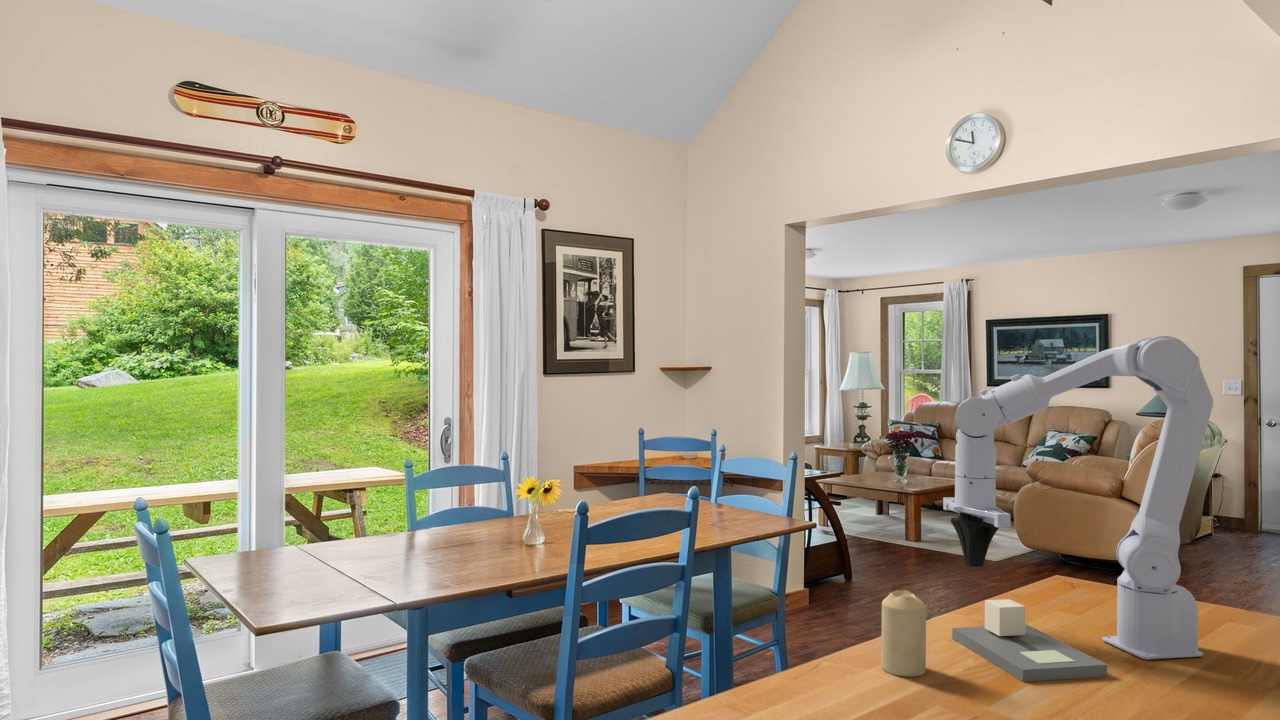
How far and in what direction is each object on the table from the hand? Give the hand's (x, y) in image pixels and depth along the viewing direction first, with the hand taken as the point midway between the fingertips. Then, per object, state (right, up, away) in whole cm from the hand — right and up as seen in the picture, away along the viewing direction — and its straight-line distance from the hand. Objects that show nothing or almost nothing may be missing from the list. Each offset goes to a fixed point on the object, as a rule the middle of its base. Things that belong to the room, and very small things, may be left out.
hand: (974, 565), depth 121 cm
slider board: (+2, -9, -12) cm, 15 cm away
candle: (-16, -9, -17) cm, 25 cm away
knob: (+1, -7, -7) cm, 11 cm away
